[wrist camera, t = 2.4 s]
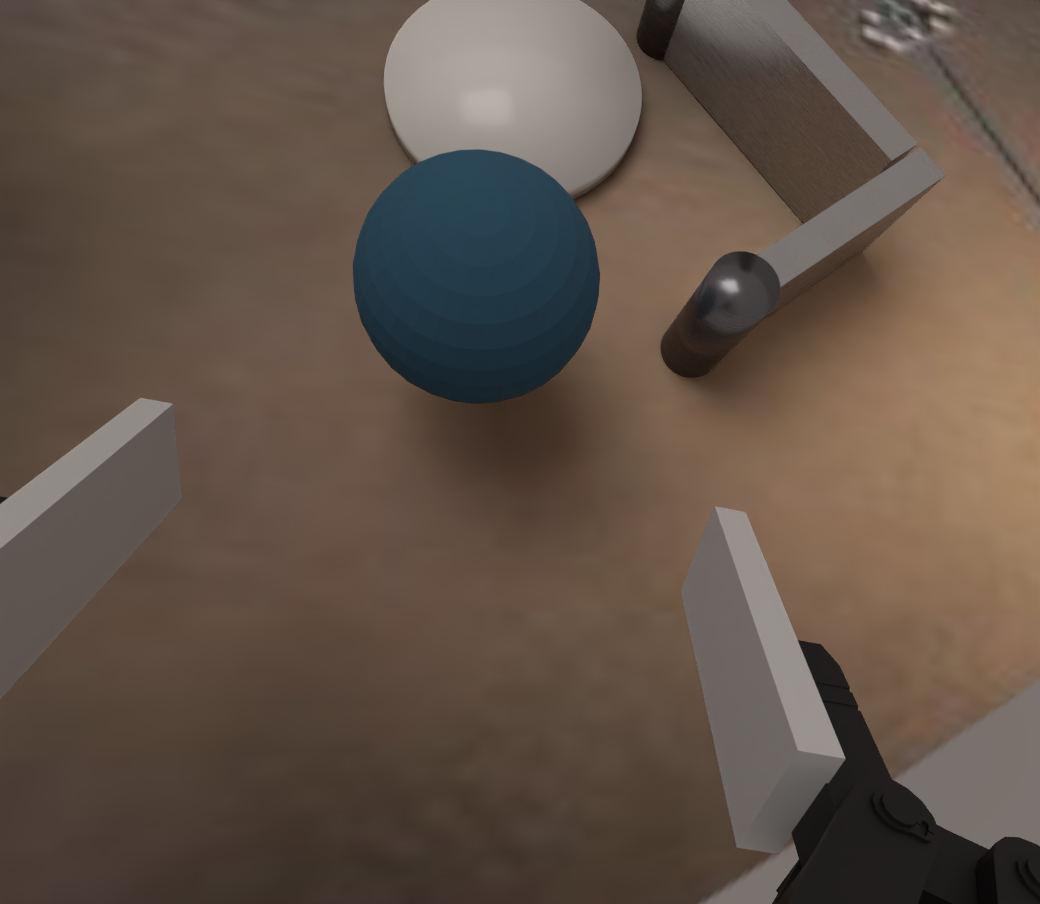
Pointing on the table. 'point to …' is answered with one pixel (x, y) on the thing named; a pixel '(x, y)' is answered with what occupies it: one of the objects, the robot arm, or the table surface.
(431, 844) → the table surface
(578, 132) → the coaster
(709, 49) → the bent rail
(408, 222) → the dark blue rounded piece
